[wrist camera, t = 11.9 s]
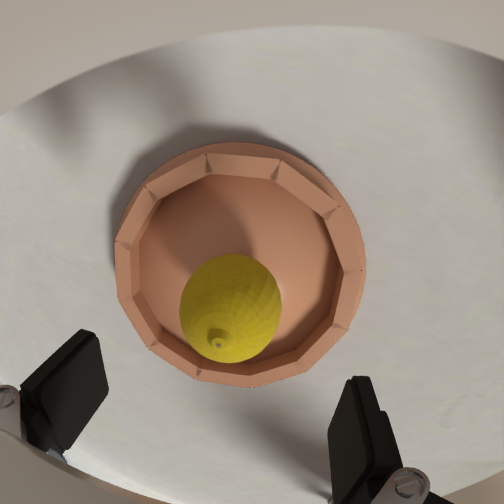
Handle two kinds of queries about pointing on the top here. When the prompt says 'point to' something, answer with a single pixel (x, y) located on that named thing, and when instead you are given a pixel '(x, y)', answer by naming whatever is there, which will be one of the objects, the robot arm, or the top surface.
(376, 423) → the robot arm
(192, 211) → the dish
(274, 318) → the lemon
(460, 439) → the top surface
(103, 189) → the top surface
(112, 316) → the top surface
